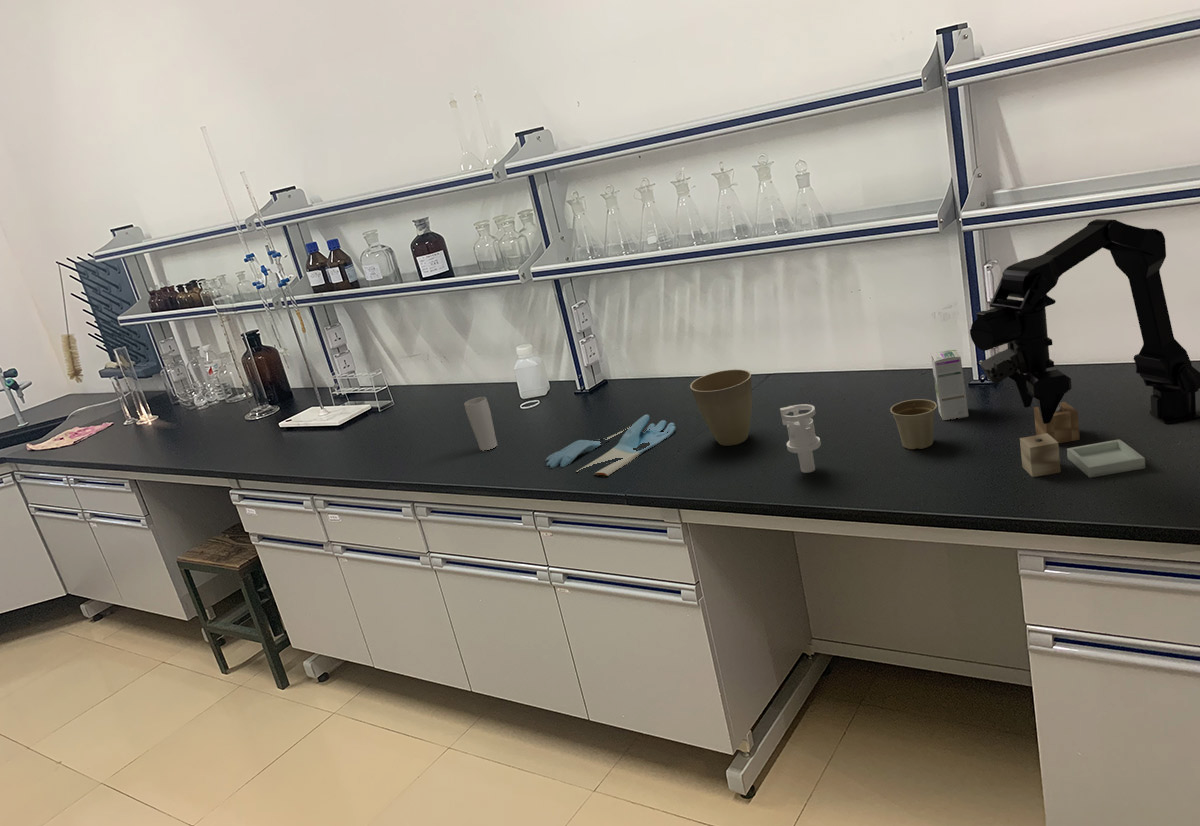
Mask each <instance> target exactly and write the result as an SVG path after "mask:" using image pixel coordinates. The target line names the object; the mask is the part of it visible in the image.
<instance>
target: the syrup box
mask: <svg viewBox="0 0 1200 826" xmlns="http://www.w3.org/2000/svg"><path fill="white" fill-rule="evenodd" d="M930 358H931V366H932V373H933V380H934V388H935V394H936V402H937V403H936V404H937V409H938V410H937V411H938V414H939V415H940V417H941V419H942V420H943V421H947V420H948V421H949V420H950V419H951V420H956V418H958V419H964V418H968V417H969V409H968V400H967V392H966V385H965V377H964V371H963V365H962V357H961V356H960V354H959V352H958V351H957V349H951V350H944V351H938V352H935V353H931V354H930Z"/></svg>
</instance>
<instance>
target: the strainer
mask: <svg viewBox="0 0 1200 826" xmlns="http://www.w3.org/2000/svg"><path fill="white" fill-rule="evenodd" d="M815 407H816V406H814V405H813V404H806V403H805V404H794V405H788V406H785V407H780V408H779V411H780V415H781V420H782V425H783V426H786V428H787V434H788V439H789V440H788V441H786V447H787V448H786V449H787V451H788V452H790V453H793V454H797V456H798V460H799V461H798V462H799V466H800V471H801V472H802V474H803V473H804V474H807V473H812V472H814V471H816V465H815V459H814V454H813V451H816V450H818V449H819V448H820V447H821V446H822V443H821V439H820V437H819V436H816V430H815V423H814V419H813V417H814V416H815V415H816V409H815ZM800 411H808V412H805V413H799V412H800ZM789 413H793V415H789ZM787 414H788V415H787Z"/></svg>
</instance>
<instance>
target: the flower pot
mask: <svg viewBox="0 0 1200 826" xmlns="http://www.w3.org/2000/svg"><path fill="white" fill-rule="evenodd" d="M937 409H938V403H936V402H935V401H934V400H931V399H922V398H921V399H920V398H919V399H916V398H915V399H908V400H904V401H900V402H898V403H895V404H894V405H892V406H891V407H890V408H889V410H890V413H891V414H892V415H893V419H895V422H896V425H897V430H898V432H899V433H898V434H899V436H900V440H901V445H902V447H904V448H905V449H909V450H915V449H920V450H921V449H926V448H929V447H930V446H932V445H933V443H934V424H935V423H934V422H935V414H936V410H937Z"/></svg>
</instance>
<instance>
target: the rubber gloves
mask: <svg viewBox="0 0 1200 826" xmlns="http://www.w3.org/2000/svg"><path fill="white" fill-rule="evenodd" d="M649 421H650V415H649V414H644V415H643V416H641V417H640V418H638V419H637V420H636V421H635V422H634V423H633V424H632V426H631V425H630V426H631V427H630V426H628V427H629V428H628V427H626V428H627V429H628V430H627V431H626V432H625V433H624V434H622V435H621V436H622V437H621V438H620V439H619V441H618V442H617V444H616V445H615V446H614V447H612V448H611V449H610V450H608V451H607V452H605V453H604V454H602V455H600V456H599V457H597V458H596V459H595V460H594V459H593V461H591V462H589V463H587V464H586V465H584V466H582V467H581V468H579V469H578V470H575V473H576V472H578V471H579V470H581V469H583V468H586V467H589V466H592V465H593V464H597V463H601V462H605V461H608V460H612V459H615V458H623V459H621V460H618V461H616V462H611V463H610V464H608V465H606V466H605V467H602V468H601V469H599V470H598V471H596V472H594V473H593V475H594V474H599V475H605V476H609V475H610V474H612V473H613V472H615V471H616V470H618V469H619V468H622V467H623V466H624V465H626V464H627V465H629V464H630V463H632V462H633V461H634V460H636V459H637V458H638V456H639V455H640V456H641V455H642V454H643V453H644V452H646V451H649V450H651V449H653V448H654V446H655V445H657V444H658V443H660V442H661V441H663V440H664V439H666V438H667V439H668V438H669V437H671V436H672V435H673V434H674V433H675V431H676V430H677V428H676V424H675V423H674V422H670V423H668V424H667V421H666V420H664V419H662V420H660V421H659V422H658V423H657V424H655V423H650V424H649V425H648V423H649ZM646 425H648V426H647V427H646ZM645 427H646V429H647V430H646V429H645V430H646V431H645V430H644V431H645V432H644V431H643V429H644V428H645ZM626 428H624V429H625V430H626ZM624 429H622V430H623V431H624ZM649 429H650V430H649ZM663 429H664V430H663ZM622 430H620V431H619V432H616V433H617V434H616V433H614V434H612V435H610V436H608V437H606V438H607V439H605V438H604V439H605V440H608V439H610V438H612V437H614V436H616V435H618V434H620V433H622V432H623V431H622ZM661 430H663V431H664V432H660V431H661ZM667 432H668V433H667ZM667 439H666V440H667ZM664 441H665V440H664ZM664 441H663V442H664ZM648 442H649V443H650V445H649V446H647V447H646V448H644V449H643V448H641V449H640V450H639V449H638V451H636V450H633V448H637V447H638V446H639V445H640V444H642V443H648ZM600 443H601V442H600V441H593V440H587V439H578V440H576V441H573V442H572V443H570V444H569V445H566V446H565V447H564V448H561V449H560V450H558V451H555V452H553V453H552V454H550V455H548V456H547V457H546V458H545V460H544V462H545V461H547V460H549V461H548V462H546V464H545V466H546V467H547V466H549V465H550V467H549V469H550V468H553V467H555V466H557V465H559V464H560V465H559V467H560V468H561V467H564V466H566V465H568V464H569V465H571V464H572V462H573V461H574V460H575V459H576V458H578V457H577V456H578V455H579V454H580V453H582V452H585V451H591V450H593V449H595V448H597V447H599V446H600V445H601V444H600ZM661 443H662V442H661ZM661 443H660V444H661ZM658 445H659V444H658ZM658 445H657V446H658ZM652 447H653V448H652ZM655 447H656V446H655ZM599 448H600V447H599ZM650 448H651V449H650ZM597 449H598V448H597ZM648 449H649V450H648ZM640 456H639V457H640ZM636 457H637V458H636ZM635 458H636V459H635ZM633 459H634V460H633ZM632 460H633V461H632ZM631 461H632V462H631ZM629 462H630V463H629ZM628 463H629V464H628ZM569 465H568V466H569ZM627 465H626V466H627ZM564 468H565V467H564ZM623 468H624V467H623ZM623 468H622V469H623ZM618 471H619V470H618ZM615 473H616V472H615ZM599 475H598V476H599ZM612 475H613V474H612ZM605 476H604V477H605ZM609 477H610V476H609Z"/></svg>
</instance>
